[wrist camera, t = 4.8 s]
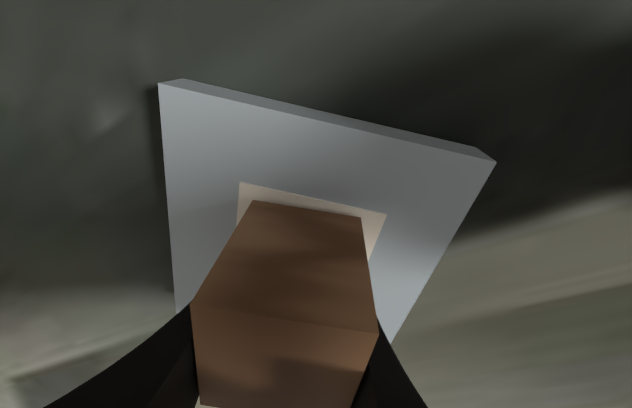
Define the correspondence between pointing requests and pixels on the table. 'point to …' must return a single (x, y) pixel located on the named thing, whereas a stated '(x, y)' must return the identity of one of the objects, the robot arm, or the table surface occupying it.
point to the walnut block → (285, 312)
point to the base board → (311, 184)
